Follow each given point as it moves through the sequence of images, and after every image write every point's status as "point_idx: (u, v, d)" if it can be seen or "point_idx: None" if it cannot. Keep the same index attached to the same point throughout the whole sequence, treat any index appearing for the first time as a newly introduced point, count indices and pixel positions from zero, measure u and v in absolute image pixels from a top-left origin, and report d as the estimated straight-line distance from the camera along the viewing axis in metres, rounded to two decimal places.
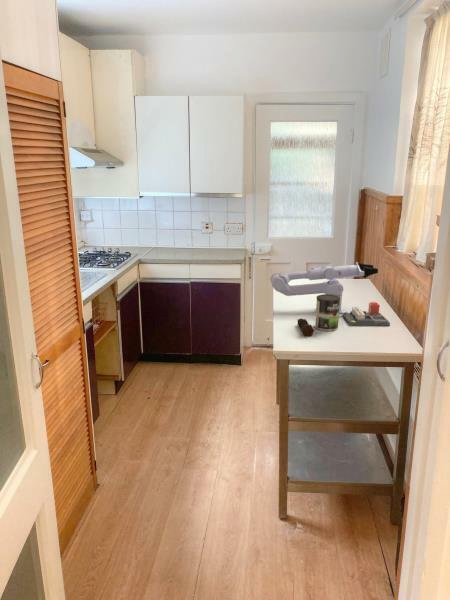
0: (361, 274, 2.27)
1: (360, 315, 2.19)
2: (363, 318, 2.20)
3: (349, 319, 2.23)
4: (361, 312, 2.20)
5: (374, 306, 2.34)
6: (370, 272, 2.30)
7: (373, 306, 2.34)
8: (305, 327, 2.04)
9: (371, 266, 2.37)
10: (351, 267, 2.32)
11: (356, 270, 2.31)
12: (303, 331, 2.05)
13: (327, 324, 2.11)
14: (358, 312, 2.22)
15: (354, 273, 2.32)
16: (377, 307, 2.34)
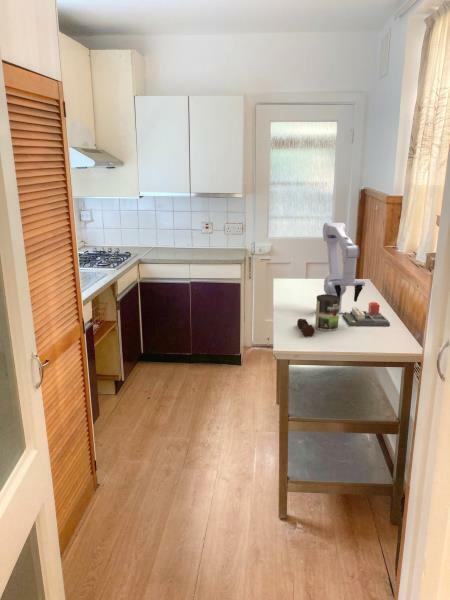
0: (332, 282, 2.18)
1: (360, 315, 2.19)
2: (363, 318, 2.20)
3: (349, 319, 2.23)
4: (361, 312, 2.20)
5: (374, 306, 2.34)
6: None
7: (373, 306, 2.34)
8: (306, 327, 2.04)
9: (355, 299, 2.19)
10: (346, 276, 2.15)
11: (342, 280, 2.17)
12: (304, 331, 2.04)
13: (327, 324, 2.11)
14: (358, 312, 2.22)
15: (342, 277, 2.18)
16: (377, 307, 2.34)
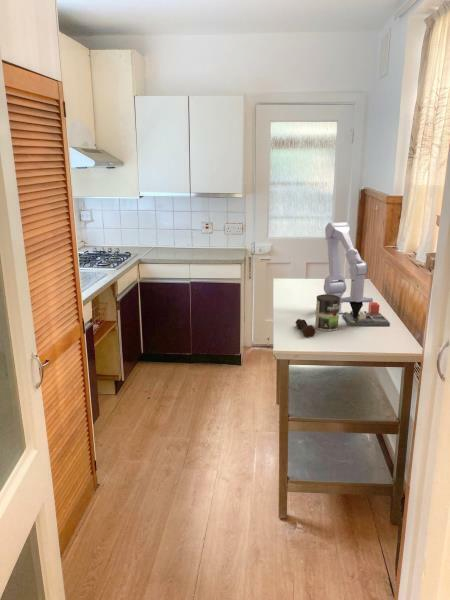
0: (340, 299, 2.20)
1: (361, 315, 2.19)
2: (364, 318, 2.20)
3: (349, 319, 2.23)
4: (362, 312, 2.20)
5: (374, 306, 2.34)
6: None
7: (373, 306, 2.34)
8: (307, 328, 2.04)
9: None
10: (354, 293, 2.17)
11: (350, 297, 2.19)
12: (305, 332, 2.04)
13: (327, 324, 2.11)
14: (359, 312, 2.22)
15: (350, 294, 2.20)
16: (377, 307, 2.34)
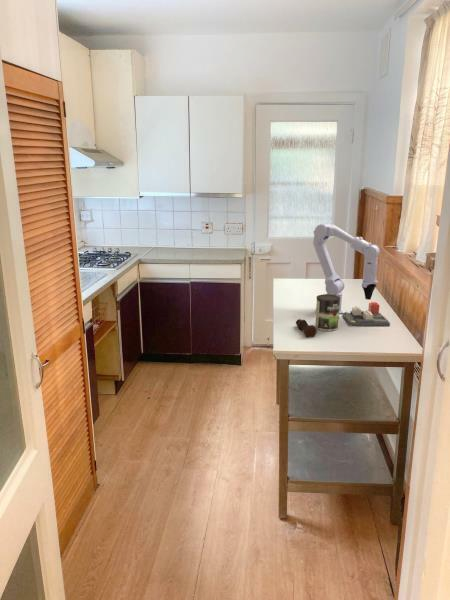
0: (363, 284, 2.21)
1: (368, 315, 2.19)
2: (371, 318, 2.20)
3: (349, 319, 2.23)
4: (369, 312, 2.20)
5: (374, 306, 2.34)
6: (367, 292, 2.27)
7: (373, 306, 2.34)
8: (308, 328, 2.03)
9: None
10: (373, 276, 2.23)
11: (369, 280, 2.23)
12: (306, 332, 2.04)
13: (327, 324, 2.11)
14: (366, 312, 2.22)
15: (366, 277, 2.24)
16: (377, 307, 2.34)
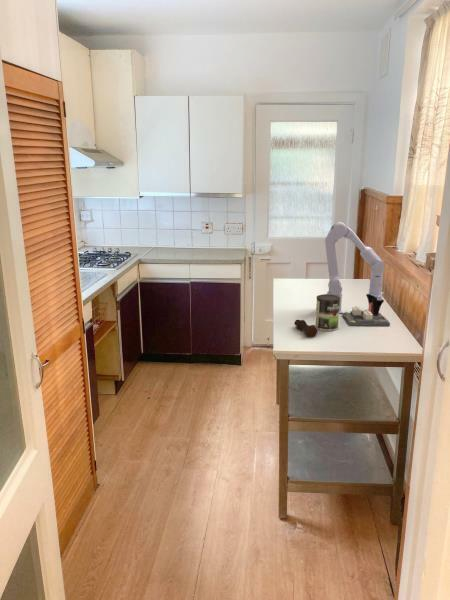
0: (378, 297, 2.27)
1: (368, 315, 2.19)
2: (371, 318, 2.20)
3: (349, 319, 2.23)
4: (369, 312, 2.20)
5: None
6: (375, 306, 2.31)
7: None
8: (309, 328, 2.03)
9: None
10: (381, 288, 2.31)
11: (378, 292, 2.31)
12: (307, 332, 2.03)
13: (327, 324, 2.11)
14: (366, 312, 2.22)
15: (375, 290, 2.31)
16: None
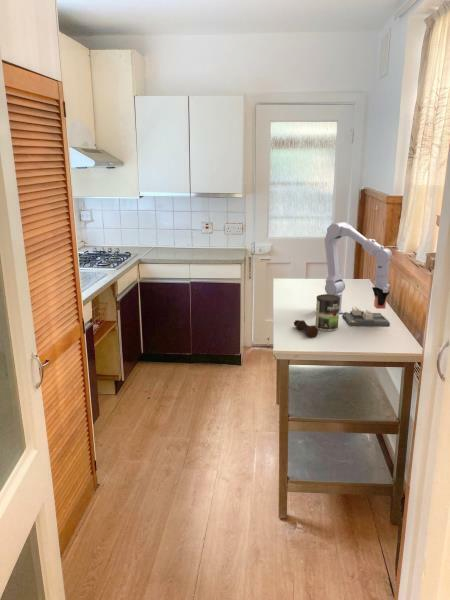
0: (385, 289, 2.13)
1: (368, 315, 2.19)
2: (371, 318, 2.20)
3: (349, 319, 2.23)
4: (369, 312, 2.20)
5: None
6: (380, 298, 2.19)
7: None
8: (310, 328, 2.03)
9: None
10: (387, 279, 2.18)
11: (384, 284, 2.17)
12: (308, 333, 2.03)
13: (327, 324, 2.11)
14: (366, 312, 2.22)
15: (381, 282, 2.17)
16: None
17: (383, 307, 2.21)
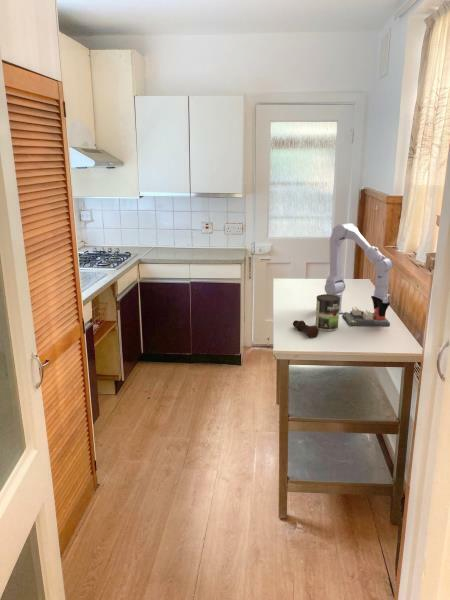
0: (384, 300, 2.12)
1: (368, 315, 2.19)
2: (371, 318, 2.20)
3: (349, 319, 2.23)
4: (369, 312, 2.20)
5: None
6: (381, 309, 2.16)
7: None
8: (311, 329, 2.03)
9: None
10: (387, 289, 2.17)
11: (384, 294, 2.16)
12: (309, 333, 2.03)
13: (327, 324, 2.11)
14: (366, 312, 2.22)
15: (381, 292, 2.16)
16: None
17: None
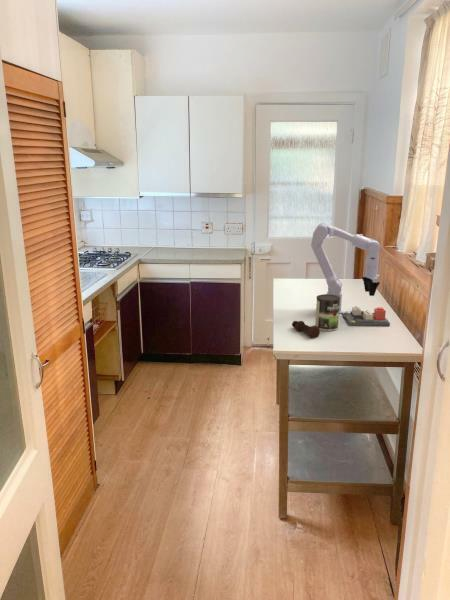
0: (374, 279, 2.24)
1: (368, 315, 2.19)
2: (371, 318, 2.20)
3: (349, 319, 2.23)
4: (369, 312, 2.20)
5: (380, 312, 2.19)
6: (371, 288, 2.28)
7: (379, 312, 2.19)
8: (312, 329, 2.02)
9: (368, 289, 2.36)
10: (377, 270, 2.28)
11: (374, 275, 2.28)
12: (311, 333, 2.02)
13: (327, 324, 2.11)
14: (366, 312, 2.22)
15: (371, 272, 2.27)
16: (383, 313, 2.19)
17: None
